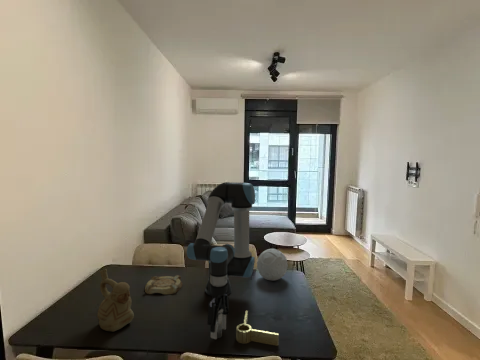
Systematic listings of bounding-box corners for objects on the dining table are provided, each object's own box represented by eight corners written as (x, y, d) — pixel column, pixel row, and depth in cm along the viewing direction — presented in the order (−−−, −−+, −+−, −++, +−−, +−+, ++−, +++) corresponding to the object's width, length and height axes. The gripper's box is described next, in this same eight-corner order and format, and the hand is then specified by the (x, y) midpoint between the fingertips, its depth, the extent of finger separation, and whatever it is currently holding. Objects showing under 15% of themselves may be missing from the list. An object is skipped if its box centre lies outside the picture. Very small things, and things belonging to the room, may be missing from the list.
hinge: (228, 339, 131) (228, 328, 131) (245, 319, 147) (246, 309, 146) (273, 353, 122) (273, 341, 122) (286, 330, 138) (286, 320, 137)
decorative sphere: (293, 256, 202) (286, 248, 186) (286, 286, 195) (278, 281, 179) (266, 250, 211) (257, 242, 195) (259, 278, 204) (249, 273, 188)
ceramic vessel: (112, 340, 130) (110, 283, 128) (85, 326, 140) (84, 273, 138) (143, 321, 144) (143, 271, 142) (117, 310, 154) (116, 262, 152)
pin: (212, 336, 133) (212, 310, 132) (216, 332, 136) (217, 306, 135) (220, 339, 131) (220, 312, 130) (224, 334, 135) (224, 308, 134)
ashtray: (170, 299, 167) (170, 290, 167) (135, 292, 175) (135, 284, 174) (191, 282, 190) (191, 274, 189) (158, 277, 197) (158, 269, 197)
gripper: (214, 294, 121) (213, 348, 123) (236, 276, 139) (236, 323, 141) (198, 290, 124) (198, 343, 126) (222, 273, 142) (222, 319, 144)
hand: (218, 333), depth 134 cm, fingers open, 8 cm apart
